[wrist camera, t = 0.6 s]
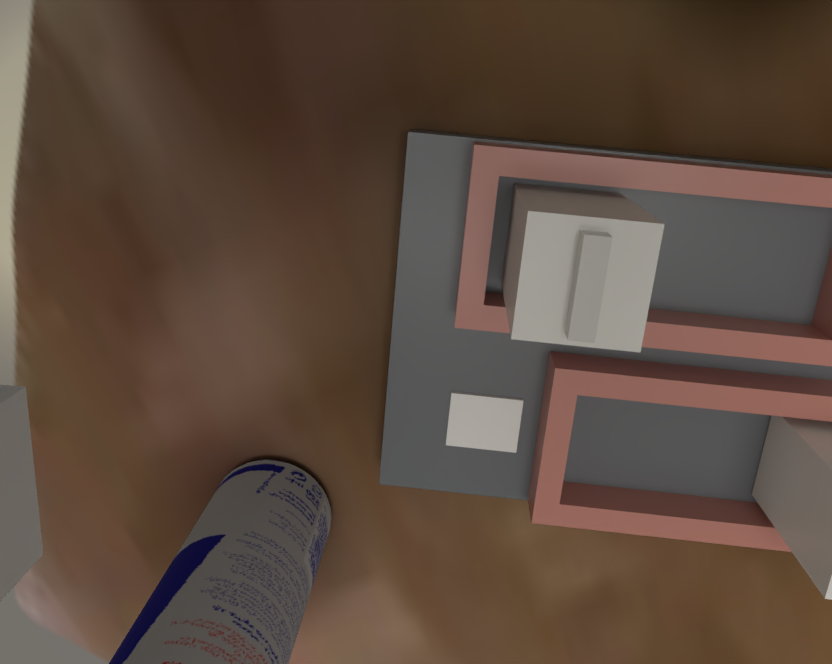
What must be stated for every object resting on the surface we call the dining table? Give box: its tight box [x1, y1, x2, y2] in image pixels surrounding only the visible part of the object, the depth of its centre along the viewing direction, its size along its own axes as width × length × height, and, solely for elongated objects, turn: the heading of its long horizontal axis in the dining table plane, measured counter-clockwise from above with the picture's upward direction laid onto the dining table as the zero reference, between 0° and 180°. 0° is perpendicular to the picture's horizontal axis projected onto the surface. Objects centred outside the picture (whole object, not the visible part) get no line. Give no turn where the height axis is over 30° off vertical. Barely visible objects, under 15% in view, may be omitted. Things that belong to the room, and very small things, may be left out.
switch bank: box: [379, 129, 832, 552], centre depth 31 cm, size 15×24×4 cm, turn 85°
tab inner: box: [501, 183, 665, 352], centre depth 26 cm, size 4×4×8 cm
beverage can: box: [109, 460, 332, 664], centre depth 30 cm, size 6×6×15 cm
